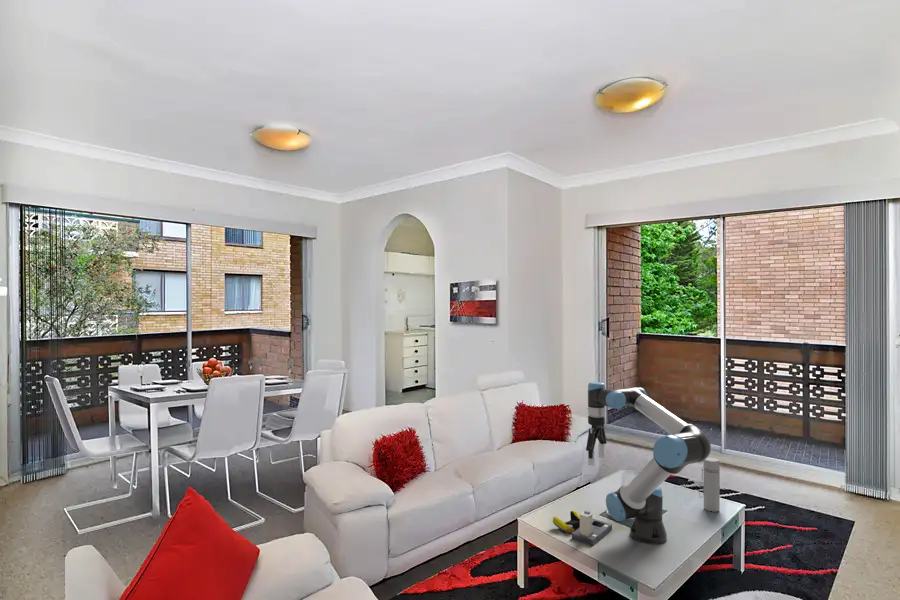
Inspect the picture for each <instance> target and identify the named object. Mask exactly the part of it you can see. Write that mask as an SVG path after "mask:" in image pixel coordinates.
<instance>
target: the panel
mask: <svg viewBox="0 0 900 600" xmlns="http://www.w3.org/2000/svg"><path fill="white" fill-rule="evenodd" d="M611 531H613V524H612V523H609V522H606V521H603V520H598V519H596V518H592V535H591V536H590V537H587V536H584V535H581V534H580V527H579V528H578V529H577V530H575V531H574V532H573V533H571V540H572V541H573V540H574V541H577V542H580V543H583V544H586V545H589V546H592V547H593V546H595V545H596V544H597V543H598V542H599V541H600V540H601V539H604V538H605V536H606V535H608V534H609V533H610V532H611Z"/></svg>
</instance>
